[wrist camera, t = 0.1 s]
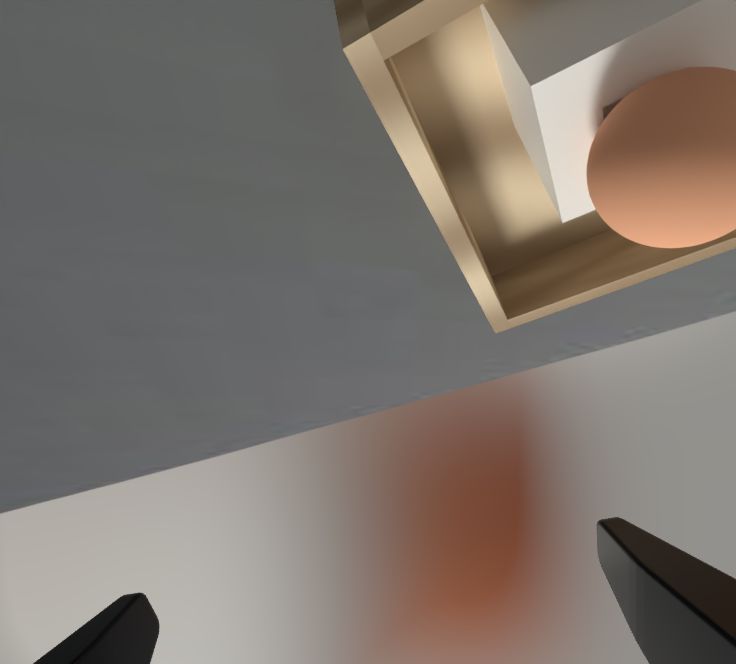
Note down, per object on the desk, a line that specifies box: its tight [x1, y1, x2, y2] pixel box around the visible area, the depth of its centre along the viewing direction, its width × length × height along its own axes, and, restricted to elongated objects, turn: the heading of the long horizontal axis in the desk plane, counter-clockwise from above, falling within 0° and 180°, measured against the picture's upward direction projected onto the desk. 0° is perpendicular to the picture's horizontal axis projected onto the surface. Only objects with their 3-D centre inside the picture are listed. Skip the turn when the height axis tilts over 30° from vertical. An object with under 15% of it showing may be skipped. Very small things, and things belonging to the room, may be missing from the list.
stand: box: [480, 0, 736, 223], centre depth 14 cm, size 5×5×6 cm
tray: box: [334, 0, 736, 333], centre depth 18 cm, size 16×13×3 cm
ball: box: [586, 67, 736, 248], centre depth 12 cm, size 4×4×4 cm
